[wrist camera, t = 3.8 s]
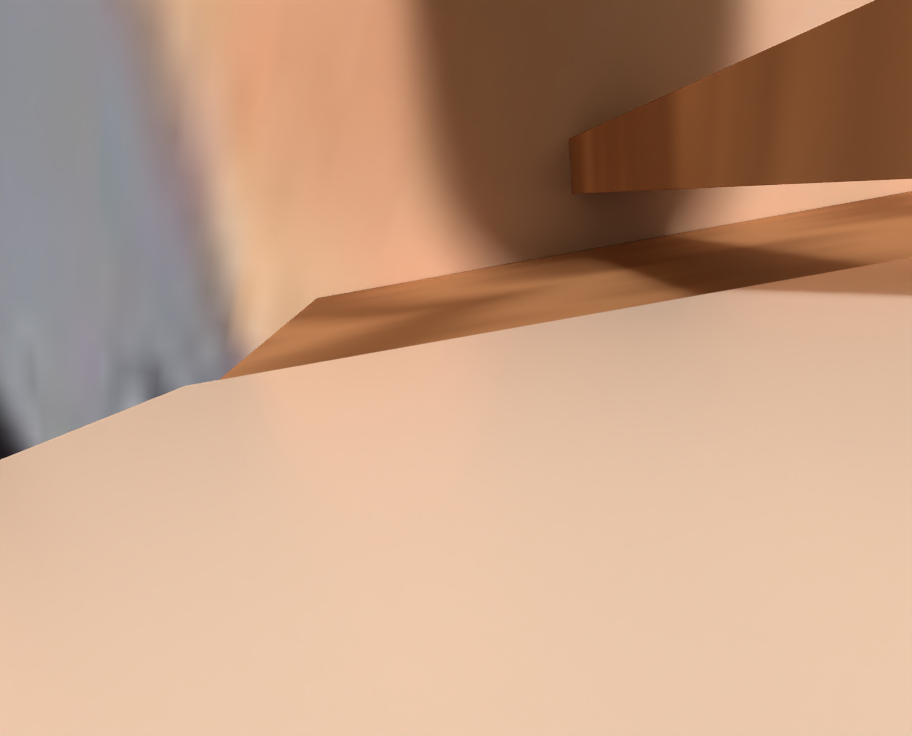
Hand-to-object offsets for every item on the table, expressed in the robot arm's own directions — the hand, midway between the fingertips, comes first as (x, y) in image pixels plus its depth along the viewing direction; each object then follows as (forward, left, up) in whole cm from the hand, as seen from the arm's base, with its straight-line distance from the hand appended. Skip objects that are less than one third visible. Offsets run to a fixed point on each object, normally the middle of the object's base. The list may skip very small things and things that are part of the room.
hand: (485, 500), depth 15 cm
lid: (+6, +7, +6) cm, 11 cm away
